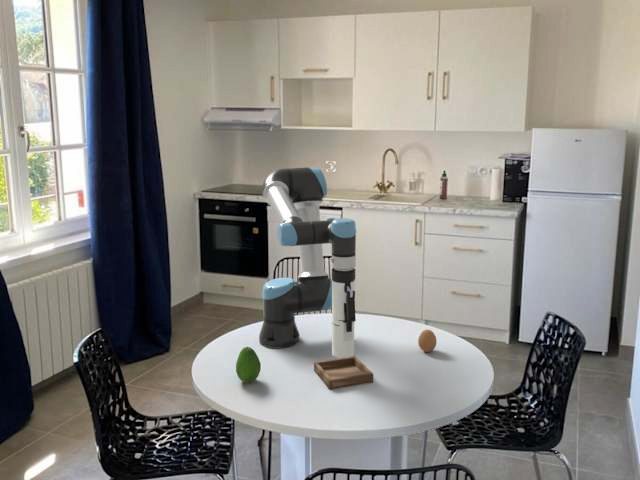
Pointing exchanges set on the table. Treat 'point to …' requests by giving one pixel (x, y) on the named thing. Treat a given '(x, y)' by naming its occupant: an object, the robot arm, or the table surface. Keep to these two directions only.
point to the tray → (343, 372)
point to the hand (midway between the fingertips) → (343, 336)
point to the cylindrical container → (340, 322)
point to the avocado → (248, 365)
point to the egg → (427, 340)
